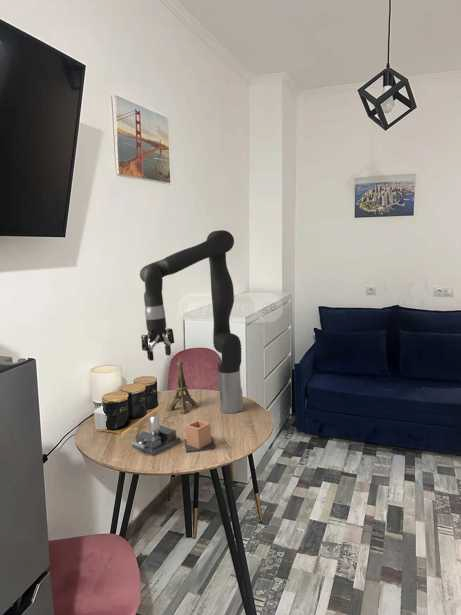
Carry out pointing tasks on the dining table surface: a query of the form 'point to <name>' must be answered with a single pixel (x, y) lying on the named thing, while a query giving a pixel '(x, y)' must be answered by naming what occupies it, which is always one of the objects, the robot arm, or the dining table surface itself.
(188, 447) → the mat
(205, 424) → the collar
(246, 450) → the dining table surface
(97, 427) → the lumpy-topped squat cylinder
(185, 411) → the eiffel tower
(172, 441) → the vise
